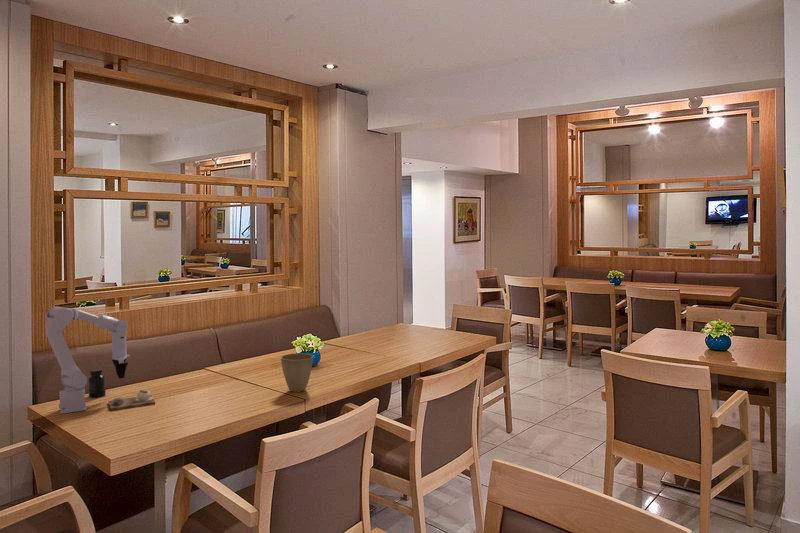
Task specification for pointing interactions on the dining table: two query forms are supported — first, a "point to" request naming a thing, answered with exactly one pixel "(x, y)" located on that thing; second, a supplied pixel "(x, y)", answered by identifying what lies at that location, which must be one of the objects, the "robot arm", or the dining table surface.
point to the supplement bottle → (96, 384)
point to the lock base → (129, 403)
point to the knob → (143, 395)
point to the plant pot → (297, 370)
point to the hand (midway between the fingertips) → (120, 376)
